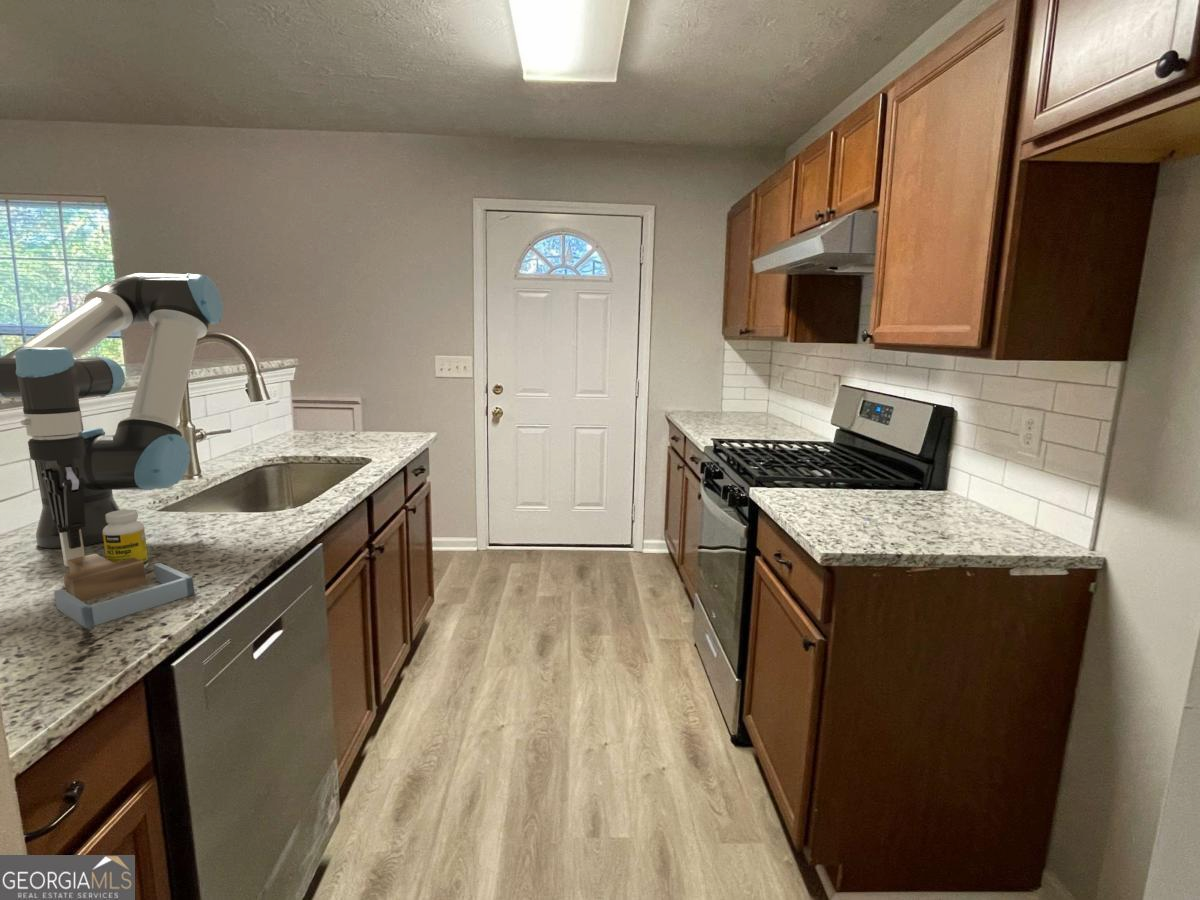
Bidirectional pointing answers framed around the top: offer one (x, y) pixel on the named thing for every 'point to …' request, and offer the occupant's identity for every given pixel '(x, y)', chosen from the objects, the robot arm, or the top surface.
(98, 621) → the dock
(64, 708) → the top surface
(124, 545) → the pill bottle
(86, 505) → the robot arm
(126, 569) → the t block
